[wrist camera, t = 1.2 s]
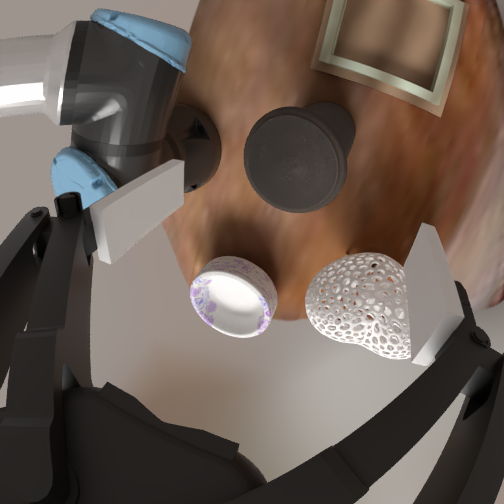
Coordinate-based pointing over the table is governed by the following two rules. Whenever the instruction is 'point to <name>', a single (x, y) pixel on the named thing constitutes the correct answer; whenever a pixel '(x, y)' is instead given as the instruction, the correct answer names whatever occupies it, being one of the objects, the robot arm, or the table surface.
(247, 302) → the paper bowls
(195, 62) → the table surface
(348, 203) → the table surface
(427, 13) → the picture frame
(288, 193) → the container
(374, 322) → the decorative heart
